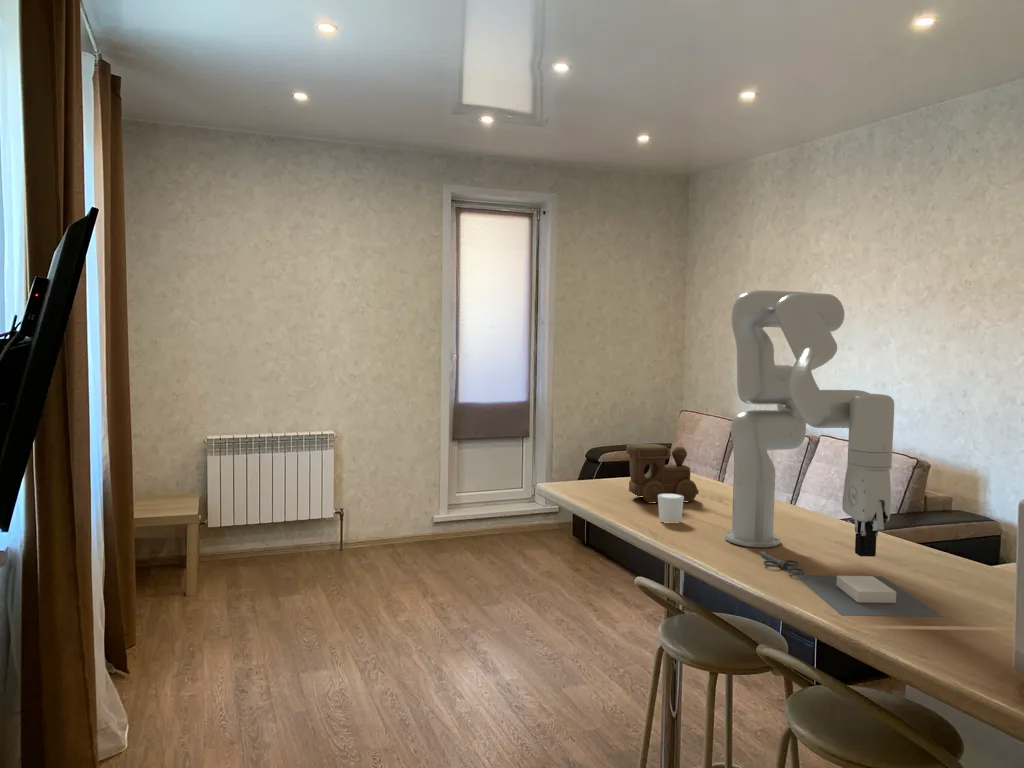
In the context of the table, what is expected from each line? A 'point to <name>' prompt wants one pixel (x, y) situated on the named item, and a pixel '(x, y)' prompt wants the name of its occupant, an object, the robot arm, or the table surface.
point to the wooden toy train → (659, 472)
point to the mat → (849, 607)
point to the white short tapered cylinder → (670, 507)
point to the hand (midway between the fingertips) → (865, 554)
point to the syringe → (781, 563)
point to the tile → (866, 589)
